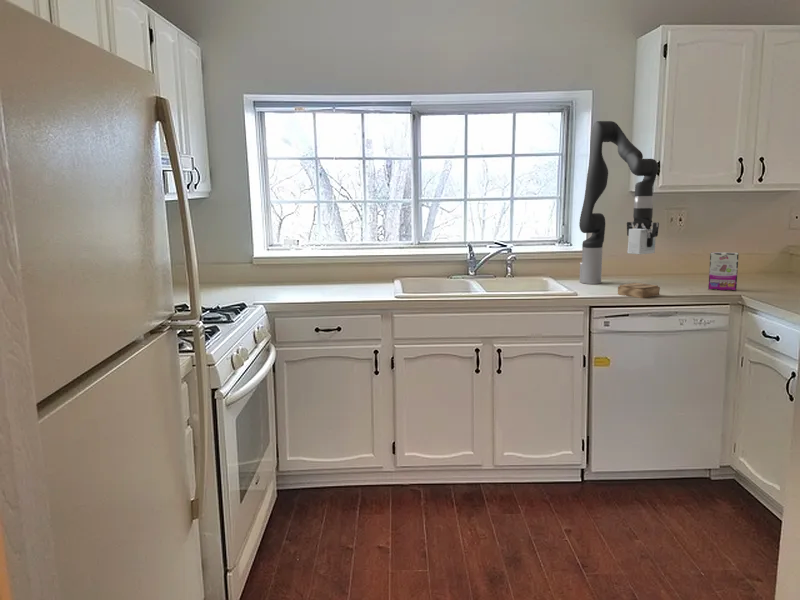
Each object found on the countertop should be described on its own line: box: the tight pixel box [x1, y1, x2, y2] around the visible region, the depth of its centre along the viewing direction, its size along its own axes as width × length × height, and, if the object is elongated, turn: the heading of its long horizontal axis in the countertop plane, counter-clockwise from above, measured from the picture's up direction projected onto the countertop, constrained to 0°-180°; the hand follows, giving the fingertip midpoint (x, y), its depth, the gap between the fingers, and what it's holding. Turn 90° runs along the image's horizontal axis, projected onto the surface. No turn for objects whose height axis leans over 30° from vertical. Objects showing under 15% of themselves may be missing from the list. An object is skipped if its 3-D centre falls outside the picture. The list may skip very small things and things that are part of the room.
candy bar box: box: [708, 251, 740, 291], centre depth 277 cm, size 11×5×16 cm, turn 62°
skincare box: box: [627, 228, 656, 255], centre depth 267 cm, size 10×6×10 cm, turn 123°
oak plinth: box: [617, 282, 661, 299], centre depth 269 cm, size 12×12×4 cm
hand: (641, 246), depth 268 cm, fingers closed on skincare box, 6 cm apart
